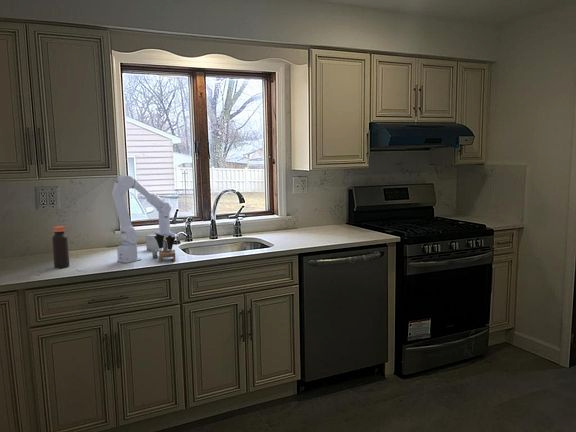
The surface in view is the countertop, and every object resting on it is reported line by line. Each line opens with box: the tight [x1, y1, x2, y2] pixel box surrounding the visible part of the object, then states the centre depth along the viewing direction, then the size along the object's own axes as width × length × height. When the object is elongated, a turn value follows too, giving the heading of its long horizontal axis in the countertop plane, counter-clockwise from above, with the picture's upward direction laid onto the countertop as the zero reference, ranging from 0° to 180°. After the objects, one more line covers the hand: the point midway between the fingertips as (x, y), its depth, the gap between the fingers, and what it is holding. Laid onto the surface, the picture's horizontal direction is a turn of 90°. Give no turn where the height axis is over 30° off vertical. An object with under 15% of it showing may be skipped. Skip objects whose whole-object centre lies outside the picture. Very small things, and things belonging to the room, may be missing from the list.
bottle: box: [51, 225, 70, 269], centre depth 231 cm, size 7×7×20 cm
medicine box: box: [145, 234, 163, 252], centre depth 272 cm, size 8×4×9 cm, turn 74°
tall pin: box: [162, 239, 168, 250], centre depth 257 cm, size 3×3×8 cm
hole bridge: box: [158, 249, 176, 263], centre depth 244 cm, size 9×8×4 cm
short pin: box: [151, 250, 159, 260], centre depth 250 cm, size 3×3×4 cm
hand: (165, 248), depth 257 cm, fingers open, 7 cm apart
